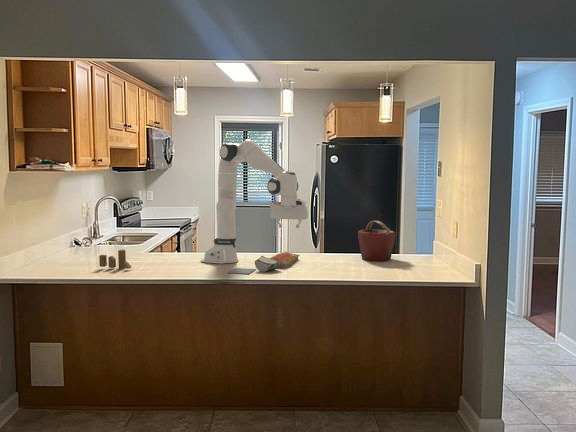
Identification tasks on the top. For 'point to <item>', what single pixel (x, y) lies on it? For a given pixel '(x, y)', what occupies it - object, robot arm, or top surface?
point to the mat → (241, 271)
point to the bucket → (376, 243)
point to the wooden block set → (112, 260)
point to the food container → (266, 264)
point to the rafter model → (285, 259)
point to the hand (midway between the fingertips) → (289, 227)
